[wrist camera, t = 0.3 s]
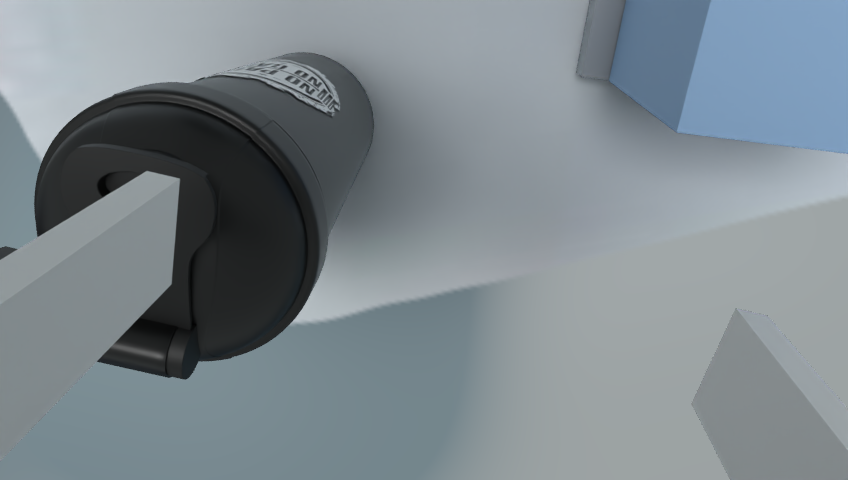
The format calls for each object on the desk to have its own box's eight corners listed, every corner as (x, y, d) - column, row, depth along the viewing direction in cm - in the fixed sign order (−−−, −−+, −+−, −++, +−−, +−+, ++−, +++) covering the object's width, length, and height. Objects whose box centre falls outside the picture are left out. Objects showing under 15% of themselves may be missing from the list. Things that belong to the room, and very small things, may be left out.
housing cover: (647, -98, 33) (747, -141, 21) (863, -73, 33) (1091, -101, 21) (608, 80, 37) (676, 132, 25) (805, 104, 37) (972, 169, 24)
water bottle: (401, 58, 39) (319, 155, 18) (370, 214, 43) (272, 444, 22) (236, 20, 39) (-43, 71, 18) (220, 179, 43) (-27, 377, 22)
